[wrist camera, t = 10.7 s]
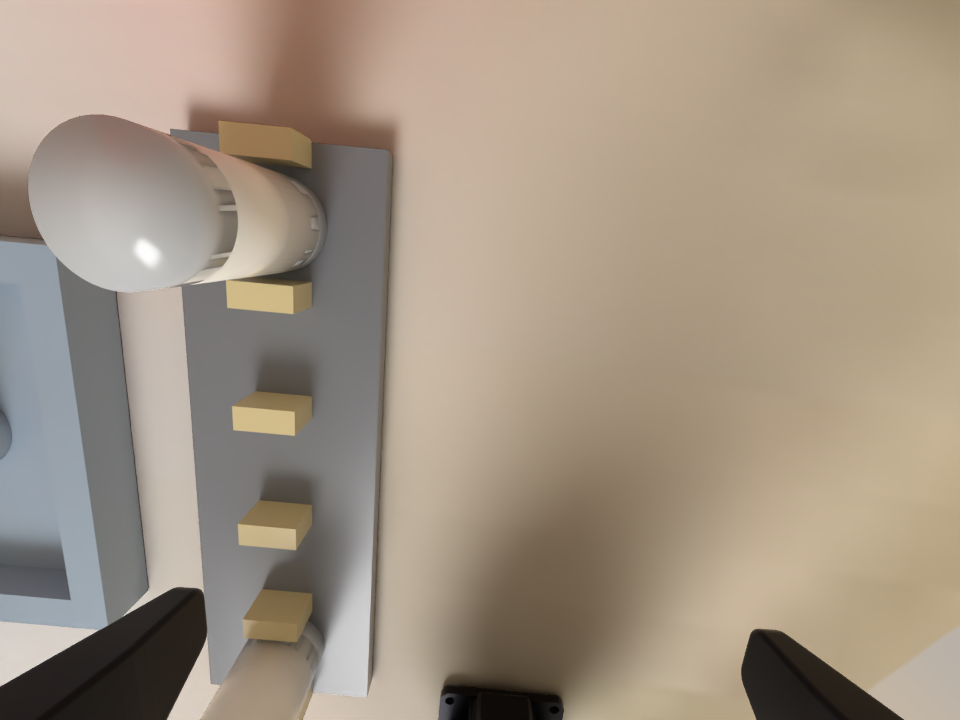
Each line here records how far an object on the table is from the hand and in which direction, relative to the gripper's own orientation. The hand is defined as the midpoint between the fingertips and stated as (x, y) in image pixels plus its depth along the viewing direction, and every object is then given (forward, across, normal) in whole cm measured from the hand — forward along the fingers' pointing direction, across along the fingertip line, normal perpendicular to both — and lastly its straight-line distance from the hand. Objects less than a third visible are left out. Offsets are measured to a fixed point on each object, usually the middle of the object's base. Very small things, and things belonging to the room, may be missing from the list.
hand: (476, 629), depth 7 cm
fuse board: (+13, +8, +4) cm, 16 cm away
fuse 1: (+12, +8, -6) cm, 16 cm away
